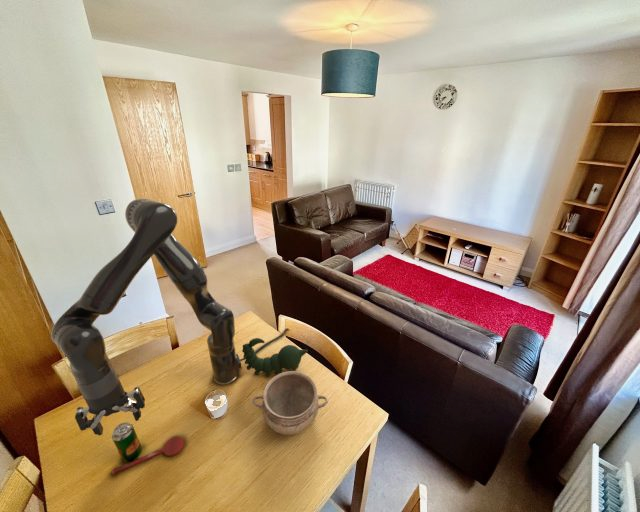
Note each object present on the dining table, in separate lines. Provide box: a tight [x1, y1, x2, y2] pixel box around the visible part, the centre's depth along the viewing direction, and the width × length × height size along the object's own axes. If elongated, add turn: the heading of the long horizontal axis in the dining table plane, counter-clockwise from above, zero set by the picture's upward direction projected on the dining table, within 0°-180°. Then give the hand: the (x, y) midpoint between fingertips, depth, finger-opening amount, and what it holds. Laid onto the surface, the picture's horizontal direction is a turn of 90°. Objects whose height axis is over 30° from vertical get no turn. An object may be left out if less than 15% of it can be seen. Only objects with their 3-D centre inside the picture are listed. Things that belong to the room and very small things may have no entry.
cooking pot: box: [252, 370, 329, 436], centre depth 92 cm, size 25×19×12 cm
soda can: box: [111, 421, 143, 464], centre depth 80 cm, size 5×5×12 cm
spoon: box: [111, 435, 185, 476], centre depth 81 cm, size 18×6×1 cm, turn 119°
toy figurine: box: [241, 337, 309, 378], centre depth 108 cm, size 9×19×25 cm
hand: (120, 424), depth 76 cm, fingers open, 8 cm apart
